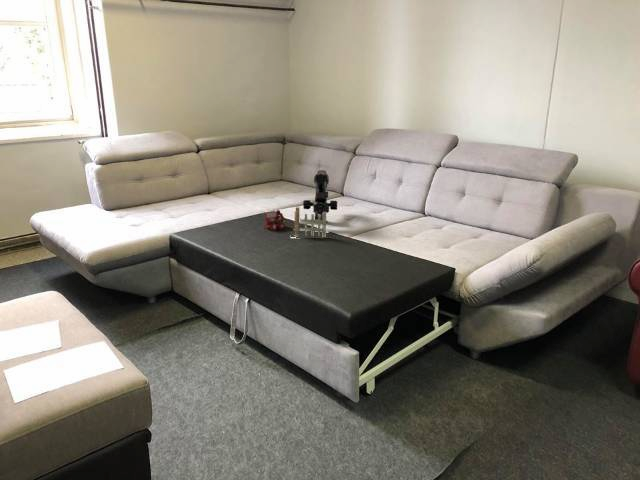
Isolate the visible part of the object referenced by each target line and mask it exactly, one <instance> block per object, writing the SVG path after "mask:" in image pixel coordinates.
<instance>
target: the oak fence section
mask: <svg viewBox="0 0 640 480" xmlns="http://www.w3.org/2000/svg"><path fill="white" fill-rule="evenodd" d="M294 230H295V236H298V231H299V230H300V207H299V206H298V207H295V211H294Z"/></svg>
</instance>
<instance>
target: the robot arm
mask: <svg viewBox="0 0 640 480" xmlns="http://www.w3.org/2000/svg"><path fill="white" fill-rule="evenodd" d="M313 181H314V182H313V183H314V185H315V196H314V201H313V202H311V199H304V200H303V203H302V206H303V207H302V208H303V210H310V209H311V207H312V208H313V210H312V211H313V213H312V214H314V220H318V214H321V219H320V220H322V216H323V212H326V214H328V213H329V212H330V210H333V211H335V210H337V209H338V201H337V200H330V201H329V202H327V201H328V199H327V198H329V191H327V188H328V185H329V181H330V178H329V175H328V174H327V171H326V170H324V169H323V170H317V173H316V174H315V175H314V180H313ZM327 222H329V221H328V220H326V223H327Z"/></svg>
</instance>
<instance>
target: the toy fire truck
mask: <svg viewBox="0 0 640 480" xmlns="http://www.w3.org/2000/svg"><path fill="white" fill-rule="evenodd" d="M264 218H265V224H264V227H265V229H270V230H271V231H277V229H279V230H283V229H282V228H284V229H285V228H286V219H285V217H284V215H283V212H281V210H280V209H277V210H273V211H266V212H264Z"/></svg>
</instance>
